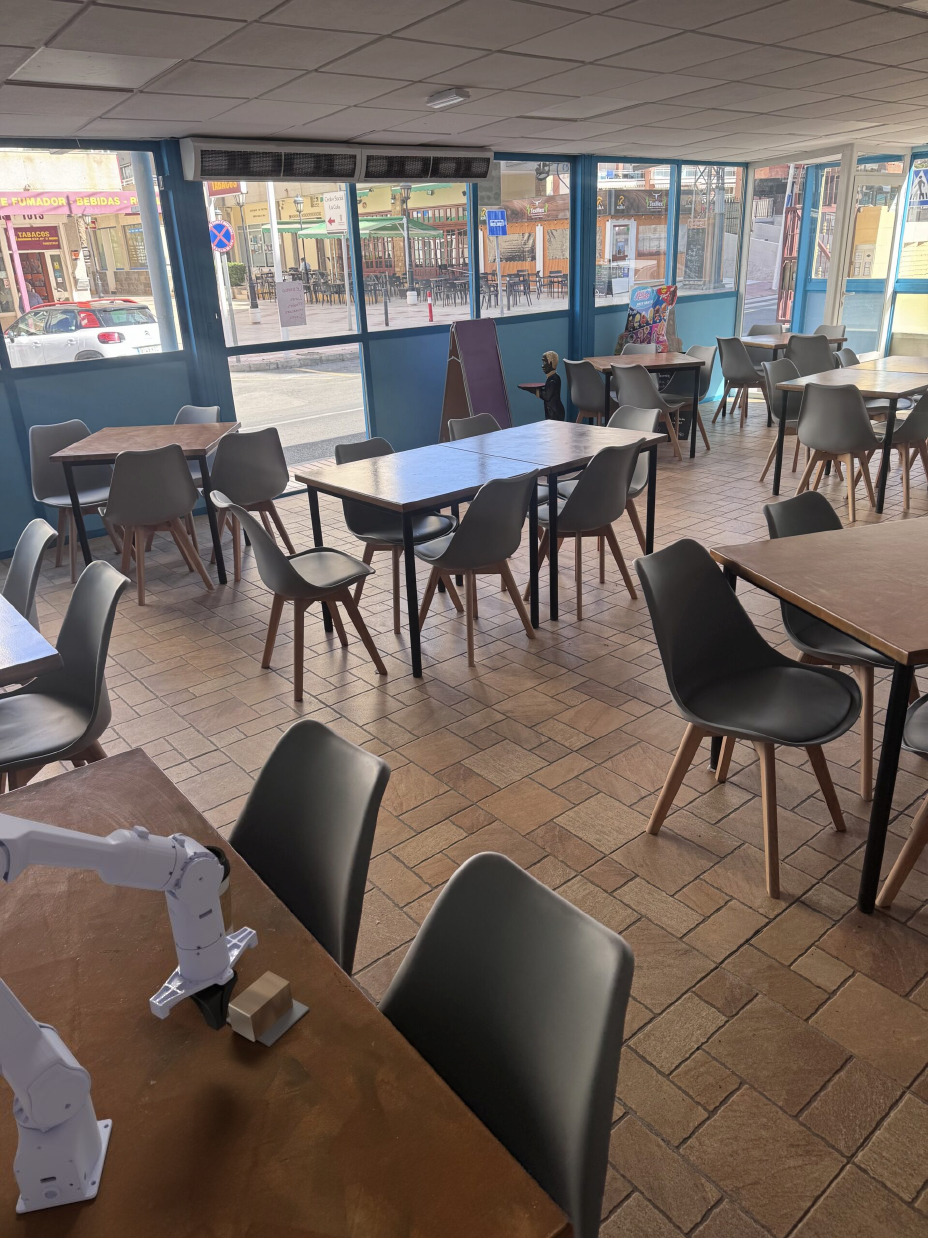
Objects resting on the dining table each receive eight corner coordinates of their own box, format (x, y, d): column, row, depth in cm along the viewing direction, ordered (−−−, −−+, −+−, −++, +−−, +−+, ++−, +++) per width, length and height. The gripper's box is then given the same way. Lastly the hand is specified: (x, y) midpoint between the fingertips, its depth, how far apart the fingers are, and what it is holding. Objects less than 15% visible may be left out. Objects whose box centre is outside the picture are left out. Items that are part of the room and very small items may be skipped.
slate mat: (269, 1047, 110) (268, 1045, 110) (226, 1021, 114) (225, 1019, 114) (309, 1009, 115) (309, 1007, 115) (266, 986, 120) (266, 985, 120)
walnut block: (249, 1017, 109) (289, 982, 114) (227, 1004, 111) (268, 970, 116) (253, 1042, 110) (293, 1006, 116) (232, 1029, 112) (272, 994, 118)
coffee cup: (171, 956, 127) (152, 868, 122) (212, 920, 134) (196, 836, 128) (214, 973, 123) (198, 883, 118) (254, 935, 130) (240, 849, 125)
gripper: (170, 985, 95) (190, 1081, 100) (268, 910, 106) (282, 999, 111) (130, 961, 99) (151, 1055, 103) (229, 891, 110) (244, 978, 114)
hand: (216, 1024), depth 107 cm, fingers closed
